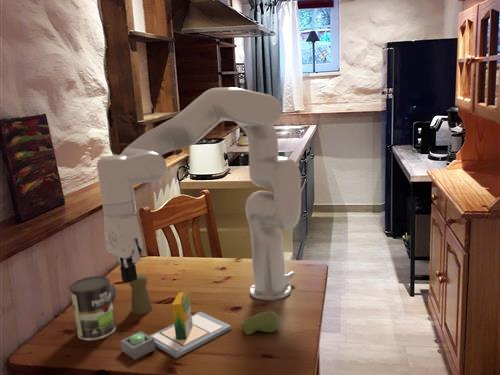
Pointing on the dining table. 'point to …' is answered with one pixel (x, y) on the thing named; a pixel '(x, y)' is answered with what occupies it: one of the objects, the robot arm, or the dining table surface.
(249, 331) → the pear
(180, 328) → the crayon box
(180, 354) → the grey white rectangular board
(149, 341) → the button housing
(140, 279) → the cork
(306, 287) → the dining table surface
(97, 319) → the coffee can
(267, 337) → the dining table surface
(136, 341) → the button
